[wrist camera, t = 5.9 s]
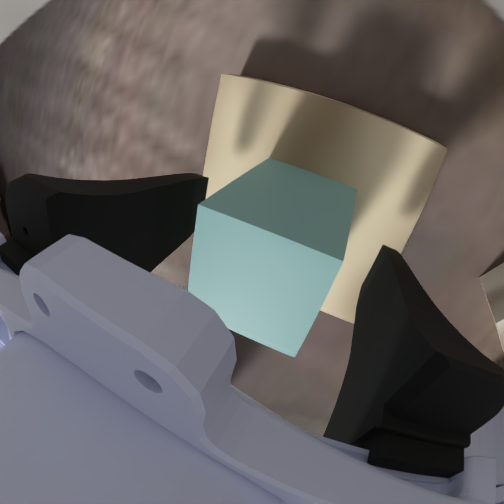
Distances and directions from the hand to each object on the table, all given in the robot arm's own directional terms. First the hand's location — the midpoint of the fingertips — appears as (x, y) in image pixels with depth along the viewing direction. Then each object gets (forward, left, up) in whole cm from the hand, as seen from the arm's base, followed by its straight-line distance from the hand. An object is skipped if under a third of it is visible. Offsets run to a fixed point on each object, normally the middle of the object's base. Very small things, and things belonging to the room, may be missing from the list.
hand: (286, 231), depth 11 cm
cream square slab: (0, 0, -4) cm, 4 cm away
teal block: (0, 0, -2) cm, 2 cm away
